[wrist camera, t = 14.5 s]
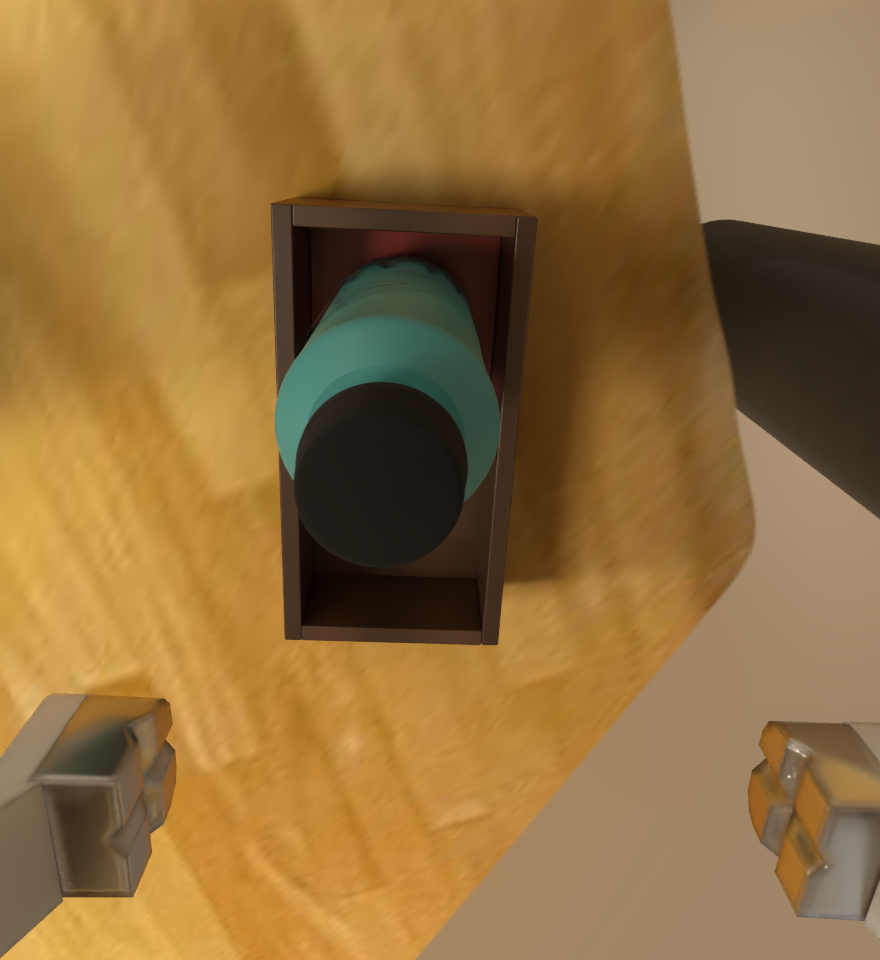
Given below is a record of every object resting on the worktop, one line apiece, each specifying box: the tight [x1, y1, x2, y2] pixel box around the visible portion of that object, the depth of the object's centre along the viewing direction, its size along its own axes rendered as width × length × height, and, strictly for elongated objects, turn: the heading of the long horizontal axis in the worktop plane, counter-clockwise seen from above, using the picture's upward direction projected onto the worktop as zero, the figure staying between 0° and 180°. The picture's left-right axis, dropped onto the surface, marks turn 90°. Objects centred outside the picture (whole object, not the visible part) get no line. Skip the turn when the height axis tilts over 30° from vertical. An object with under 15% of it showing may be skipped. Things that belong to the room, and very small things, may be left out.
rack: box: [271, 198, 537, 645], centre depth 35 cm, size 10×19×6 cm, turn 177°
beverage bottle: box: [275, 252, 500, 567], centre depth 26 cm, size 6×7×20 cm
